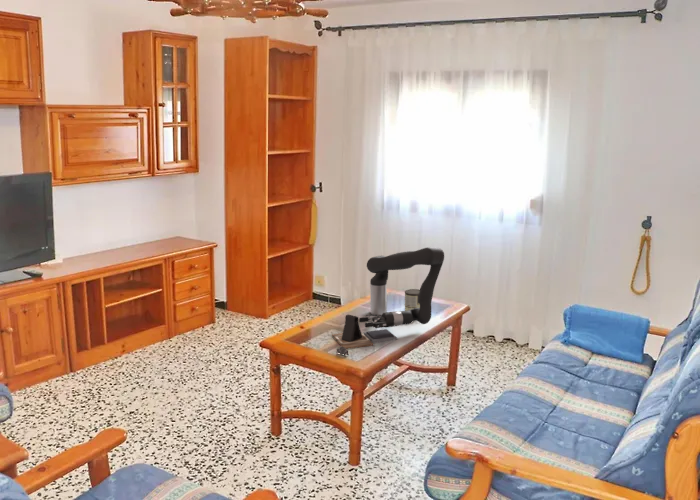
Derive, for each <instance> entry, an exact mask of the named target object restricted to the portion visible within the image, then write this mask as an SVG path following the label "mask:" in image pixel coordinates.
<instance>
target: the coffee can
mask: <svg viewBox="0 0 700 500" xmlns="http://www.w3.org/2000/svg"><path fill="white" fill-rule="evenodd" d="M419 292H420V289H416V288H410V289H406V290H404V311H408V310H411V309H414V308H420V304H419V303H418V297H419Z"/></svg>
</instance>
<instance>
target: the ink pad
mask: <svg viewBox="0 0 700 500" xmlns="http://www.w3.org/2000/svg"><path fill="white" fill-rule="evenodd" d="M363 334H364V335H365V336H366V337H367V338H368V339H369V340H370V341H371V342H372V343H373V344H374V343H381V342H382V343H384V342H389V341H390V342H391V341H397V340H398V337H397V336H396V335H395V334H393V333H392V332H391V331H390V330H389V329H387V328H385V329H377V330H368V331H364V332H363Z"/></svg>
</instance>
